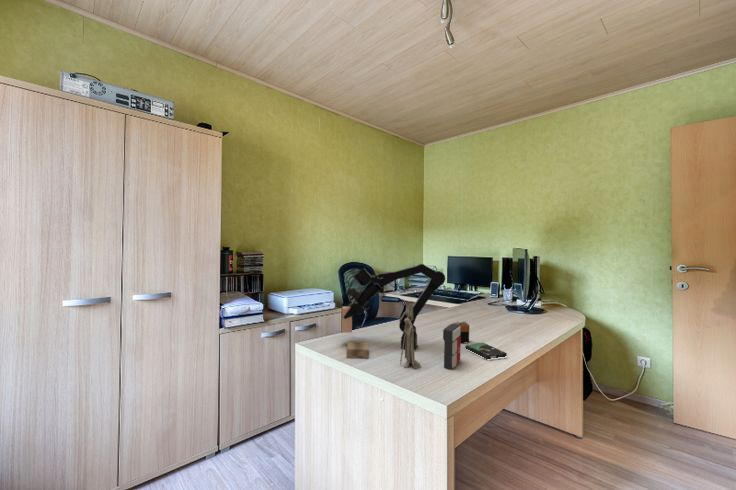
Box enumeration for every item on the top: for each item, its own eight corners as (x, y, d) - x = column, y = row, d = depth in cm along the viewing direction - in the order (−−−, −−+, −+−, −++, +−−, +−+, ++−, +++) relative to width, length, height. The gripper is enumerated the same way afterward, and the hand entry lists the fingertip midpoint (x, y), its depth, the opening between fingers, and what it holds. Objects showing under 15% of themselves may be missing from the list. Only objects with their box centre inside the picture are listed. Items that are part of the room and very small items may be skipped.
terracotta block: (351, 329, 145) (351, 306, 145) (351, 332, 140) (352, 308, 140) (341, 329, 144) (342, 306, 144) (341, 332, 140) (342, 308, 140)
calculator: (453, 370, 116) (454, 331, 116) (442, 367, 119) (443, 329, 119) (461, 361, 126) (461, 324, 126) (450, 359, 128) (451, 323, 128)
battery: (469, 343, 149) (469, 322, 149) (456, 343, 148) (456, 323, 148) (464, 340, 154) (465, 320, 153) (452, 340, 152) (452, 320, 152)
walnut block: (368, 351, 135) (368, 342, 135) (368, 359, 126) (368, 349, 126) (348, 351, 136) (348, 342, 136) (346, 358, 127) (346, 349, 127)
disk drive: (507, 359, 131) (482, 347, 144) (507, 353, 131) (482, 341, 144) (487, 362, 127) (464, 350, 141) (488, 355, 127) (464, 343, 141)
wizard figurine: (395, 360, 125) (396, 299, 125) (414, 358, 127) (416, 298, 127) (404, 370, 115) (405, 304, 115) (425, 368, 117) (426, 303, 117)
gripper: (355, 278, 152) (332, 300, 151) (357, 283, 133) (331, 308, 132) (370, 294, 153) (348, 316, 152) (374, 301, 134) (349, 327, 133)
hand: (344, 316), depth 142 cm, fingers closed on terracotta block, 4 cm apart
